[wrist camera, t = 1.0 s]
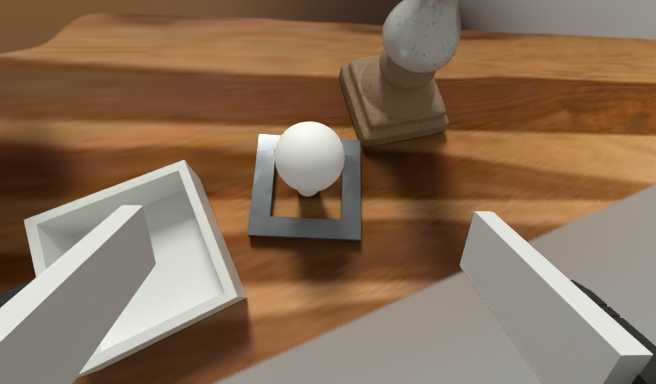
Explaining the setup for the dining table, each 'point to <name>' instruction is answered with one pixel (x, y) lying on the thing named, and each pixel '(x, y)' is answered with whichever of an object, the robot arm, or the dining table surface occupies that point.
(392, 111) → the candle holder
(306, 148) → the lightbulb
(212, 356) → the dining table surface
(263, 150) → the dark grey square frame
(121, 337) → the bin
